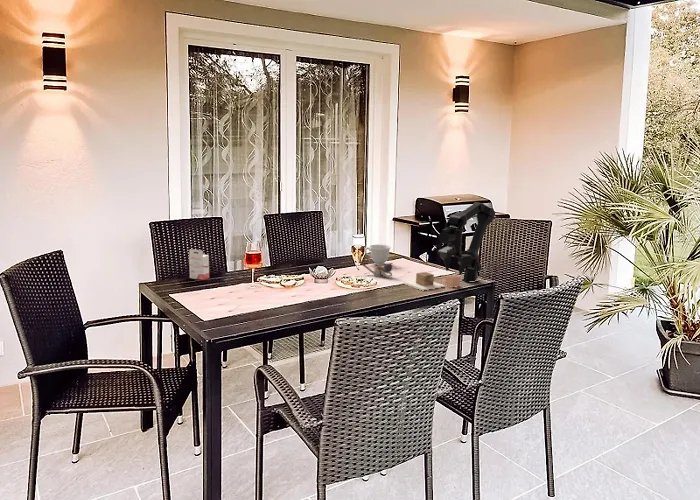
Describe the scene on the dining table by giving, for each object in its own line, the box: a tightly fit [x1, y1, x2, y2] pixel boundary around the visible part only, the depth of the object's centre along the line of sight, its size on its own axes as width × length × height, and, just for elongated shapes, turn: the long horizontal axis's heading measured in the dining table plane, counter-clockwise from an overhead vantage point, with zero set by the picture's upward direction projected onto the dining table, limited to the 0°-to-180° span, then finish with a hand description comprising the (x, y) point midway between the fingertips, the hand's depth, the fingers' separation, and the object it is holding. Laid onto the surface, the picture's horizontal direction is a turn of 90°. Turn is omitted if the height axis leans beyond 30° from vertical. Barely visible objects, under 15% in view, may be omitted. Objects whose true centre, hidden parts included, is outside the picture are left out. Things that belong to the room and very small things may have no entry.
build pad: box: [404, 280, 446, 292], centre depth 287 cm, size 14×14×1 cm
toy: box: [358, 260, 393, 279], centre depth 303 cm, size 9×18×10 cm, turn 74°
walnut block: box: [415, 271, 435, 286], centre depth 286 cm, size 6×6×5 cm
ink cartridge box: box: [188, 248, 210, 281], centre depth 287 cm, size 9×5×15 cm, turn 68°
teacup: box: [364, 244, 392, 266], centre depth 328 cm, size 12×15×10 cm
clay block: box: [444, 274, 462, 287], centre depth 287 cm, size 5×5×5 cm
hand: (453, 272), depth 286 cm, fingers open, 9 cm apart
